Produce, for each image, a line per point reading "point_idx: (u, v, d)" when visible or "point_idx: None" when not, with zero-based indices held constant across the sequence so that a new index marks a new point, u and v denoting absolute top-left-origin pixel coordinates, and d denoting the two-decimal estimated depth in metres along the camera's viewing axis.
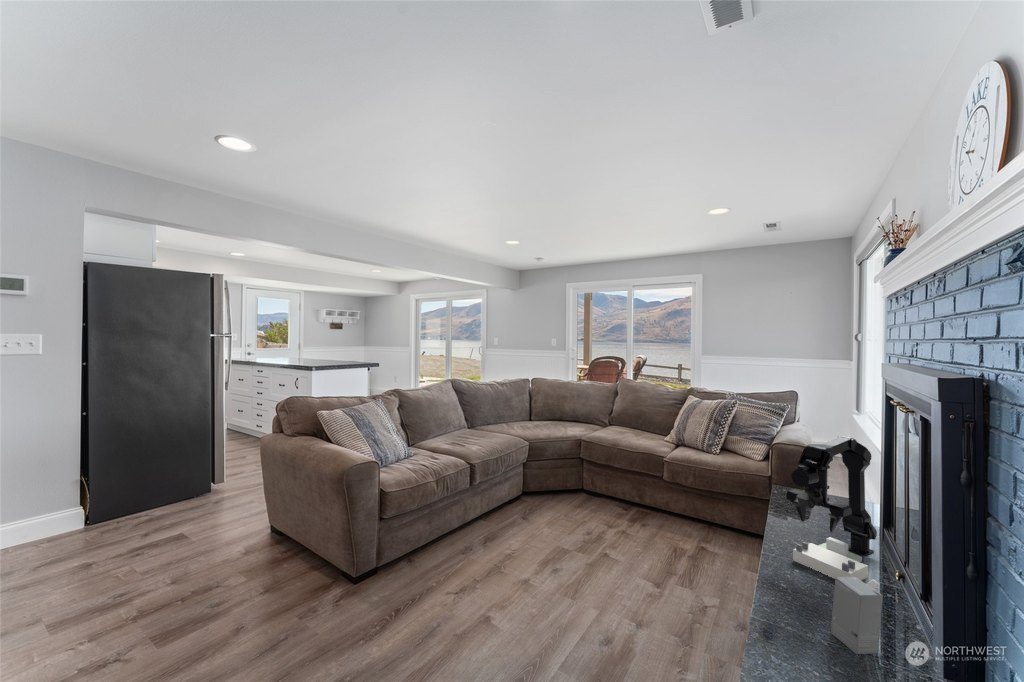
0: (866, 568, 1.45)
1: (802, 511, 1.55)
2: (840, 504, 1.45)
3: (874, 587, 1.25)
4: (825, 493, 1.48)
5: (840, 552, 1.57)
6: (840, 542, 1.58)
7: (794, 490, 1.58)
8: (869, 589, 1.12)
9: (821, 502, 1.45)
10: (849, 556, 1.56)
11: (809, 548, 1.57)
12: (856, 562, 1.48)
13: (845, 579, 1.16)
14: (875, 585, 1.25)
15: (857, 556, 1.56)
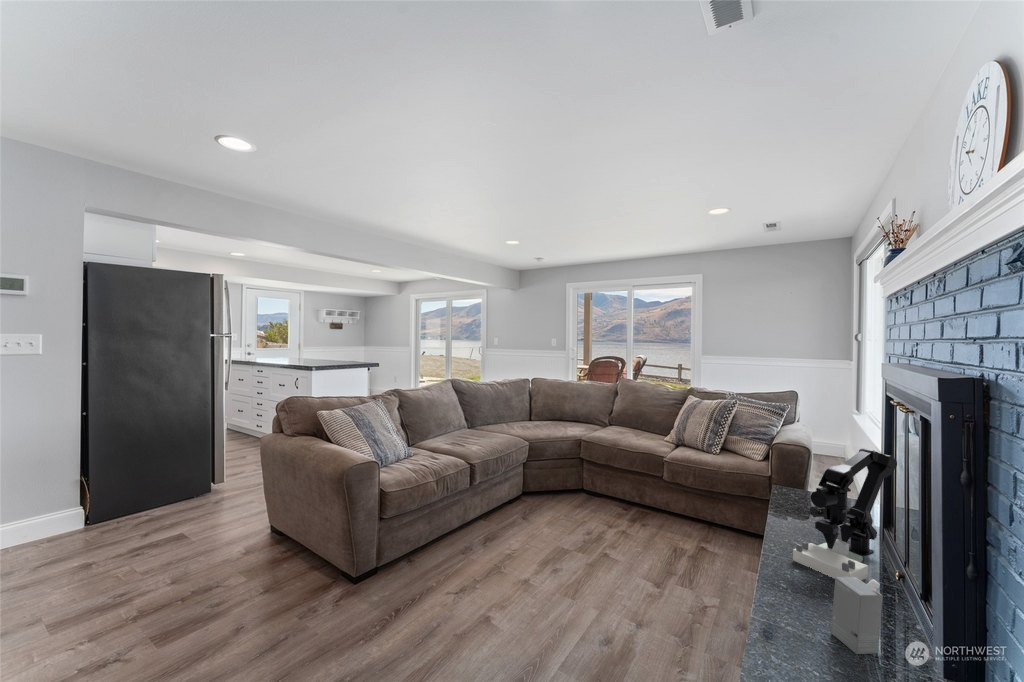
0: (866, 568, 1.45)
1: (843, 533, 1.62)
2: (828, 523, 1.56)
3: (874, 587, 1.25)
4: (832, 513, 1.58)
5: (841, 552, 1.58)
6: (841, 542, 1.59)
7: (850, 515, 1.63)
8: (869, 589, 1.12)
9: (815, 513, 1.62)
10: (850, 556, 1.56)
11: (809, 548, 1.57)
12: (856, 562, 1.48)
13: (845, 579, 1.16)
14: (875, 585, 1.25)
15: (858, 556, 1.56)
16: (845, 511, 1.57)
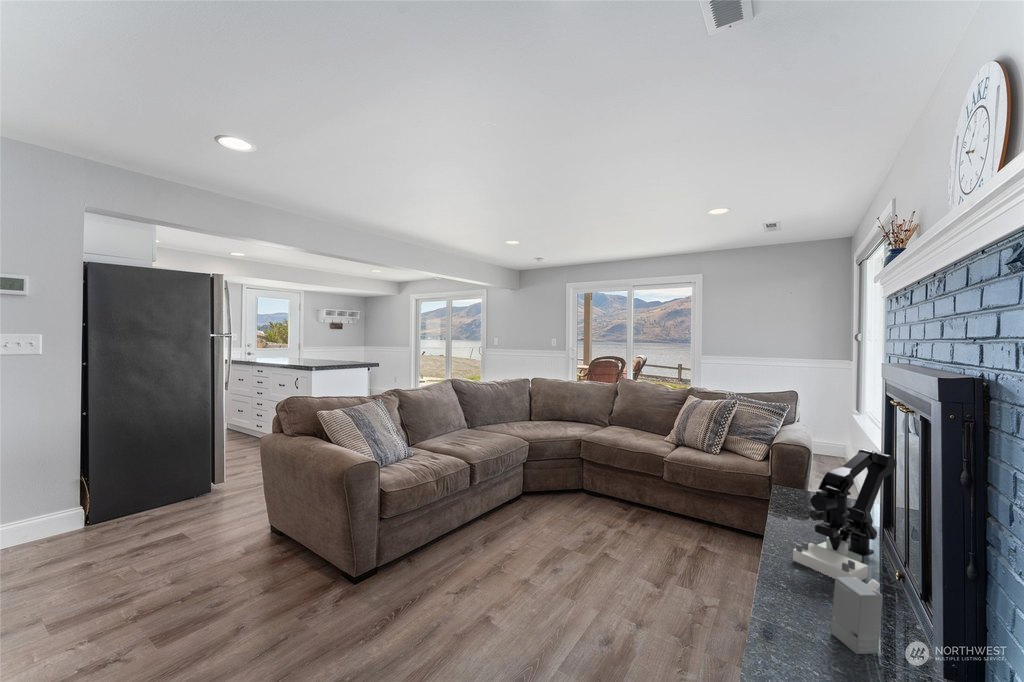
0: (866, 568, 1.45)
1: None
2: (828, 526, 1.56)
3: (874, 587, 1.25)
4: (832, 516, 1.58)
5: (840, 551, 1.57)
6: None
7: (850, 518, 1.63)
8: (869, 589, 1.12)
9: (815, 516, 1.62)
10: (849, 555, 1.56)
11: (809, 548, 1.57)
12: (856, 562, 1.48)
13: (845, 579, 1.16)
14: (875, 585, 1.25)
15: (857, 555, 1.56)
16: (845, 514, 1.57)
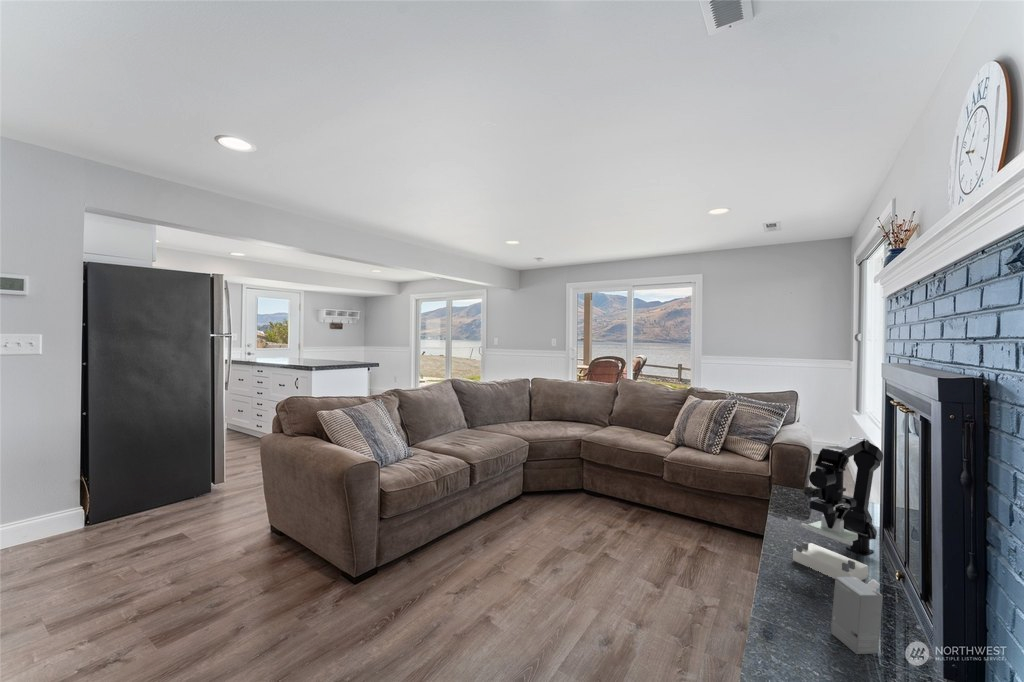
0: (866, 568, 1.45)
1: None
2: (823, 502, 1.51)
3: (874, 587, 1.25)
4: (827, 492, 1.53)
5: (835, 529, 1.52)
6: None
7: (846, 496, 1.57)
8: (869, 589, 1.12)
9: (810, 493, 1.57)
10: (844, 533, 1.51)
11: (809, 548, 1.57)
12: (856, 562, 1.48)
13: (845, 579, 1.16)
14: (875, 585, 1.25)
15: (853, 533, 1.51)
16: (841, 490, 1.51)
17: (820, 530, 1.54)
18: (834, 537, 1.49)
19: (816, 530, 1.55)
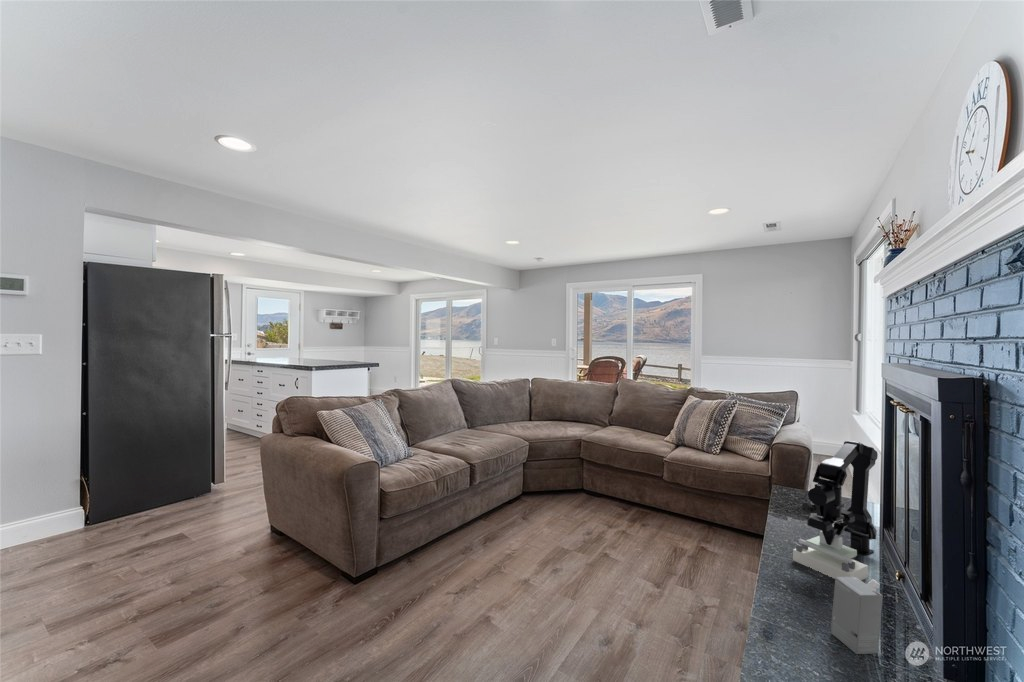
0: (866, 568, 1.45)
1: None
2: (821, 519, 1.48)
3: (874, 587, 1.25)
4: (825, 509, 1.50)
5: (834, 545, 1.49)
6: None
7: (844, 511, 1.54)
8: (869, 589, 1.12)
9: (808, 509, 1.54)
10: (843, 549, 1.48)
11: (809, 548, 1.57)
12: (856, 562, 1.48)
13: (845, 579, 1.16)
14: (875, 585, 1.25)
15: (852, 549, 1.48)
16: (839, 506, 1.49)
17: (819, 547, 1.51)
18: (833, 554, 1.47)
19: (815, 547, 1.52)
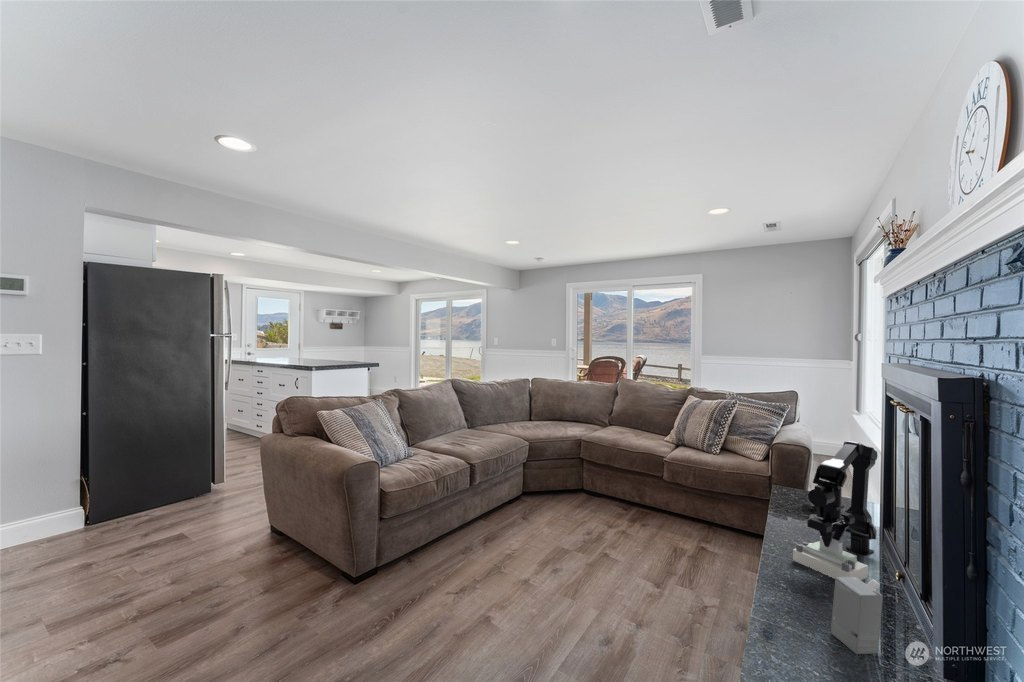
0: (866, 568, 1.45)
1: (834, 532, 1.53)
2: (821, 520, 1.48)
3: (874, 587, 1.25)
4: (825, 510, 1.50)
5: (834, 551, 1.49)
6: (834, 540, 1.50)
7: (844, 512, 1.54)
8: (869, 589, 1.12)
9: (808, 511, 1.54)
10: (843, 555, 1.48)
11: None
12: (856, 562, 1.48)
13: (845, 579, 1.16)
14: (875, 585, 1.25)
15: (852, 555, 1.48)
16: (839, 508, 1.49)
17: (818, 552, 1.51)
18: (833, 560, 1.47)
19: (814, 552, 1.52)
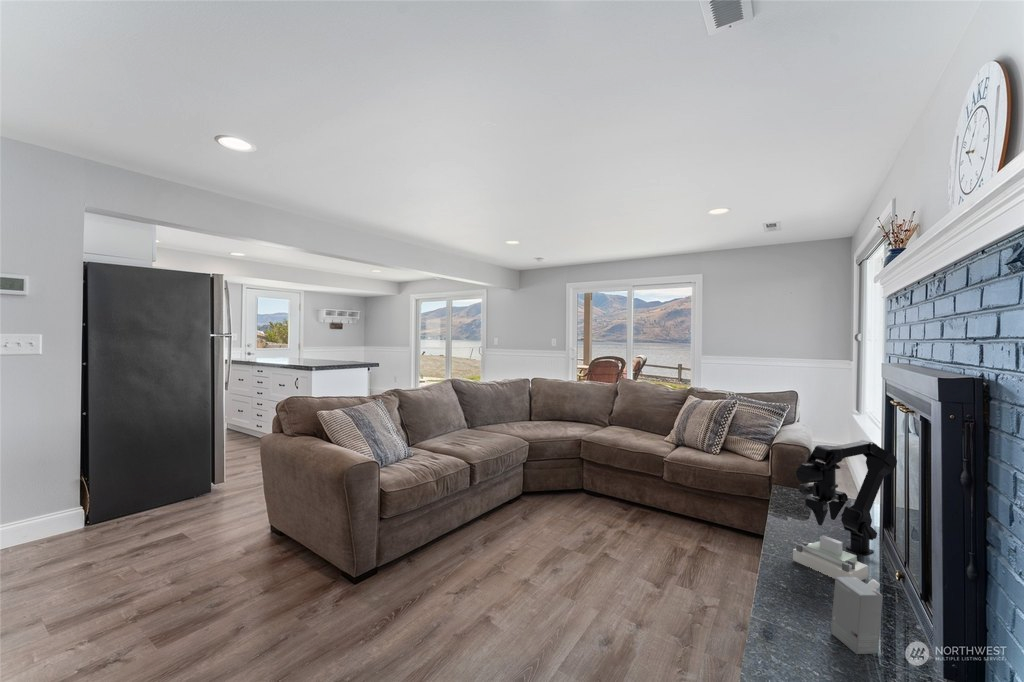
0: (866, 568, 1.45)
1: (832, 509, 1.64)
2: (818, 499, 1.57)
3: (874, 587, 1.25)
4: (821, 489, 1.60)
5: (834, 551, 1.49)
6: (834, 540, 1.50)
7: (838, 491, 1.64)
8: (869, 589, 1.12)
9: (804, 491, 1.63)
10: (843, 555, 1.48)
11: None
12: (856, 562, 1.48)
13: (845, 579, 1.16)
14: (875, 585, 1.25)
15: (852, 555, 1.48)
16: (834, 487, 1.58)
17: (818, 552, 1.51)
18: (833, 560, 1.47)
19: (814, 552, 1.52)
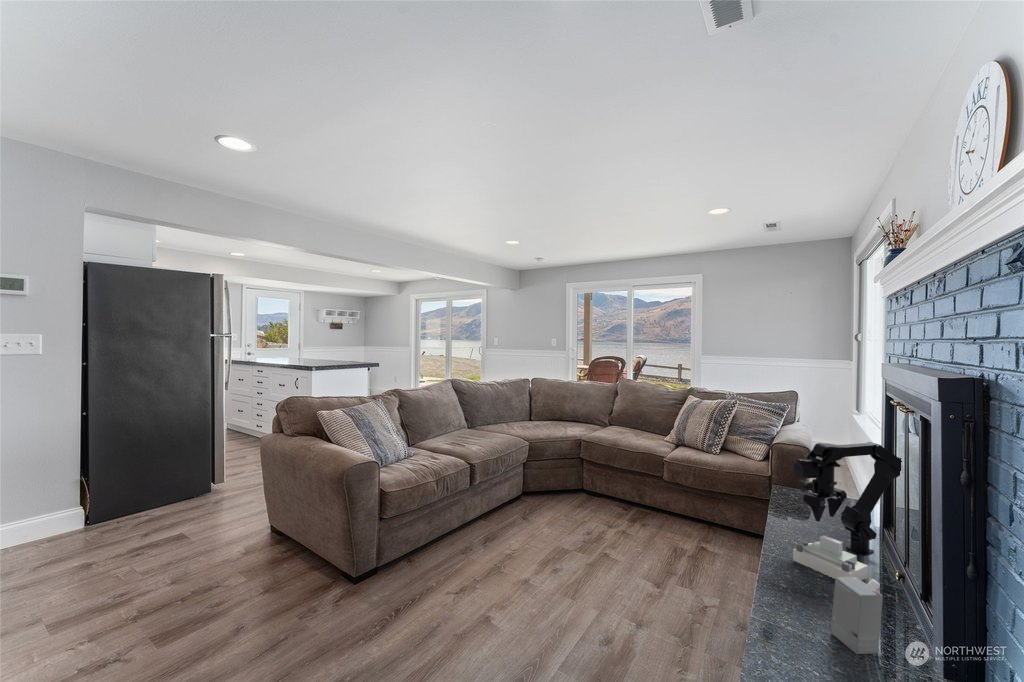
0: (866, 568, 1.45)
1: (830, 506, 1.66)
2: (815, 495, 1.60)
3: (874, 587, 1.25)
4: (819, 486, 1.63)
5: (834, 551, 1.49)
6: (834, 540, 1.50)
7: (837, 489, 1.67)
8: (869, 589, 1.12)
9: (803, 487, 1.66)
10: (843, 555, 1.48)
11: None
12: (856, 562, 1.48)
13: (845, 579, 1.16)
14: (875, 585, 1.25)
15: (852, 555, 1.48)
16: (832, 484, 1.61)
17: (818, 552, 1.51)
18: (833, 560, 1.47)
19: (814, 552, 1.52)
